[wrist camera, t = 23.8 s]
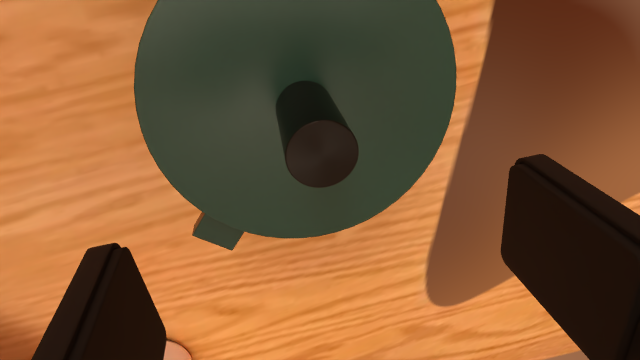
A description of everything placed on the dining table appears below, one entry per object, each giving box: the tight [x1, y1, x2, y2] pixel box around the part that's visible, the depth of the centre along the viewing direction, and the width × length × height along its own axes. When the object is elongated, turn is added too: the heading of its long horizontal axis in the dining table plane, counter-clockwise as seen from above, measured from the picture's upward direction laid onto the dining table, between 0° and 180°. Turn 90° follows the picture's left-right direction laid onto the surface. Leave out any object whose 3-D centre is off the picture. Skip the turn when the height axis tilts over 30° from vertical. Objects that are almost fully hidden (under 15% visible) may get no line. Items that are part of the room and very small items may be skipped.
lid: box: [134, 0, 456, 238], centre depth 17 cm, size 14×14×6 cm
